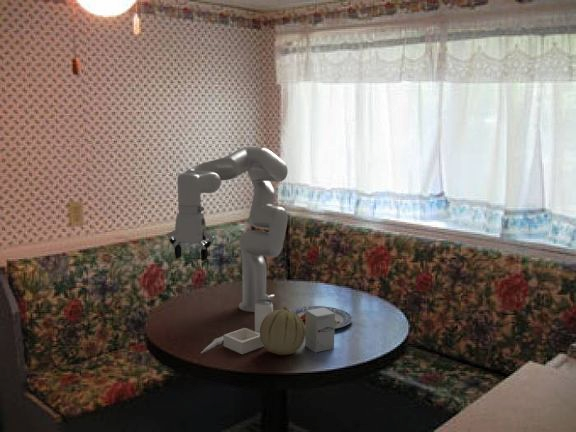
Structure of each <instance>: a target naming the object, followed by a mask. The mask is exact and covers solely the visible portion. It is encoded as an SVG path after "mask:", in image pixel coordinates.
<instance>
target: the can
mask: <svg viewBox="0 0 576 432" xmlns="http://www.w3.org/2000/svg"><path fill="white" fill-rule="evenodd" d="M272 311H274V304H273V301H272V299H271V300H268V299H260V300H257V301H256V304H255V312H254V331H255V332H258V333H260V327H261V323H262V321H263V320H264V318H265V317H266V316H267V315H268V314H269V313H271V312H272Z"/></svg>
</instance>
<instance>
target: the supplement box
mask: <svg viewBox="0 0 576 432" xmlns="http://www.w3.org/2000/svg"><path fill="white" fill-rule="evenodd" d="M334 326H335V313H333V312H332V311H330V310H328V309H326V308H324V307H323V308H318V309H311V310H306V321H305V338H304V345H305V346H306V348H308V349H309V350H311V351H312V352H314V353H315V354H316V353H320V352H324V351H329V350H334V349H335V329H334Z"/></svg>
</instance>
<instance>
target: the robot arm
mask: <svg viewBox="0 0 576 432" xmlns="http://www.w3.org/2000/svg"><path fill="white" fill-rule="evenodd" d="M288 171H289V170H288V166H287V164H286V162H285V161H284V160H283V159H282V158H280V157H279V156H278V155H277V154H275V153H274V152H273V151H271V150H270V149H268V148H266V147H260V146H259V147H254V146H246V147H242V148H239V149H237V150H236V151H234V152H231V153H230V154H229V155H226V156H224V157H220V158H218V159H213V160H210V161H206V162H203V163H199V164H196V165H194V166H192V167H190V168H188V169H187V170H186V171H185V172H184V173H180V174H179V175H177V205H178V208H177V209H178V212H177V213H176V218H175V226H174V228H175V229H174V230H172V231H170V232H168V233H166V235H167V238H168V240H169V242H170V244H172V247H173V248H174V256H175V259H176V260H177V259H180V258H182V256H183V255H182V246H181V244H182V243H186V244H199V246H200V247H201V249H200V260H201V261H202V262H203V261H206V260H207V259H208V253H209V252H208V250H209V248H210V246H211V245H212V243H213V241H215V240H214V239H215V236H214V235H213V234H211V233H210V232H208V231H207V225H206V218H205V214H204V213H203V212H204V211H205V207H204V206H202V203H201V202H202V201H201V196H202V195H201V194H213V193H215V192H217V191H218V190H219V189H220V187H221V185H222V181H228V180H230V181H231V180H233V179H236V178H237V177H239V176H241V175H243V174H244V173H247V175H248V177H249V179H250V181H251V183H252V185H253V197H252V198H253V199H252V201H251V202H252V203H251V206H250V211H249V217H248V221H249V224H250V226H252V227H254V228H257V229H264V230H265V229H266V230H268V231H261V230H253V229H252V230H246V231H244V232H242V234H241V236H240V238H239V248H240V253H241V260H242V261H241V263H242V265H241V266H242V301H241V302H240V303H239V304H238V309H240V310H241V311H243V312H247V313H255V304H256V301H257V300H260V299H268V300H271V301H272V300H274V299H275V294H273V293H272V294H269V295H268V294H267V263H266V260H265V258H264V257H267V258H276V257H278V256H279V255H281V252H282V250H283V245H284V241H285V235H286V232H287V227H288V213H287V210H286V209H285V208H284V207H282V206H280V205H274V203H275V197H276V191H275V189H274V186H273V182H275V183H280V182H283V181H285V180H286V179H287V176H288V173H289V172H288ZM174 236H175V237H174Z"/></svg>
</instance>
